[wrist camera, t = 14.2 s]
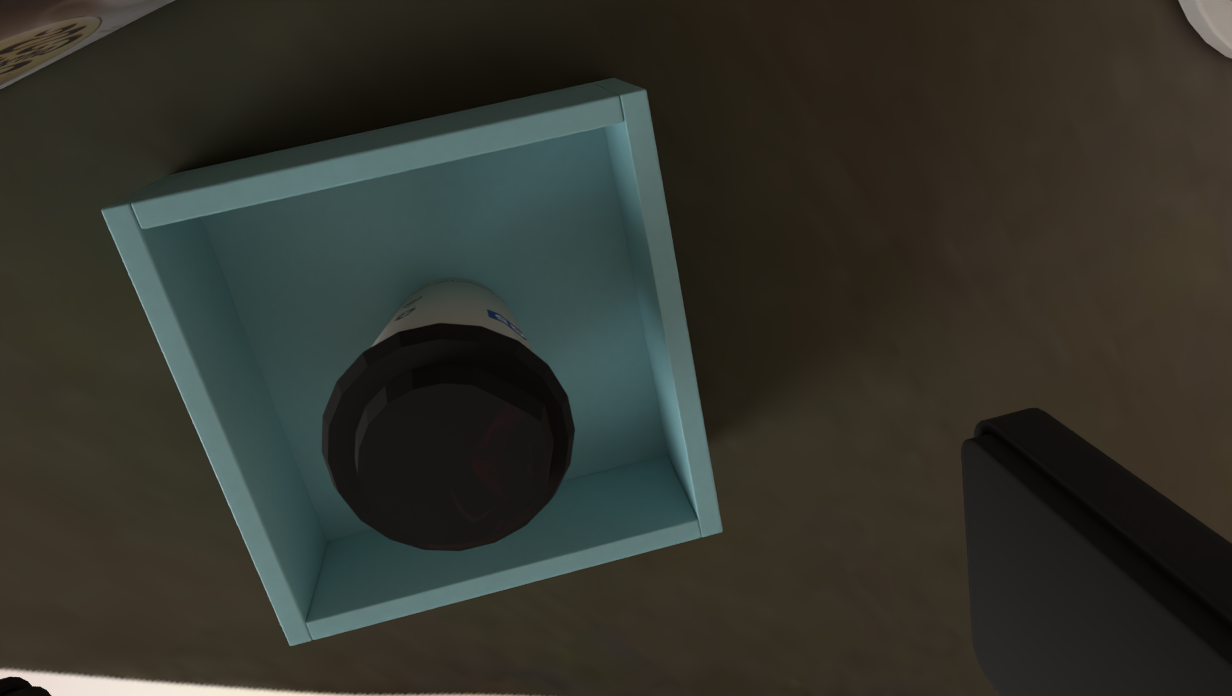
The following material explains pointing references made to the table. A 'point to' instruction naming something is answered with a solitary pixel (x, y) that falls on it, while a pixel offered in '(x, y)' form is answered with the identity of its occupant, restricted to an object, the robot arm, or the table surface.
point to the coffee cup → (448, 423)
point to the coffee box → (58, 29)
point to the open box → (373, 292)
